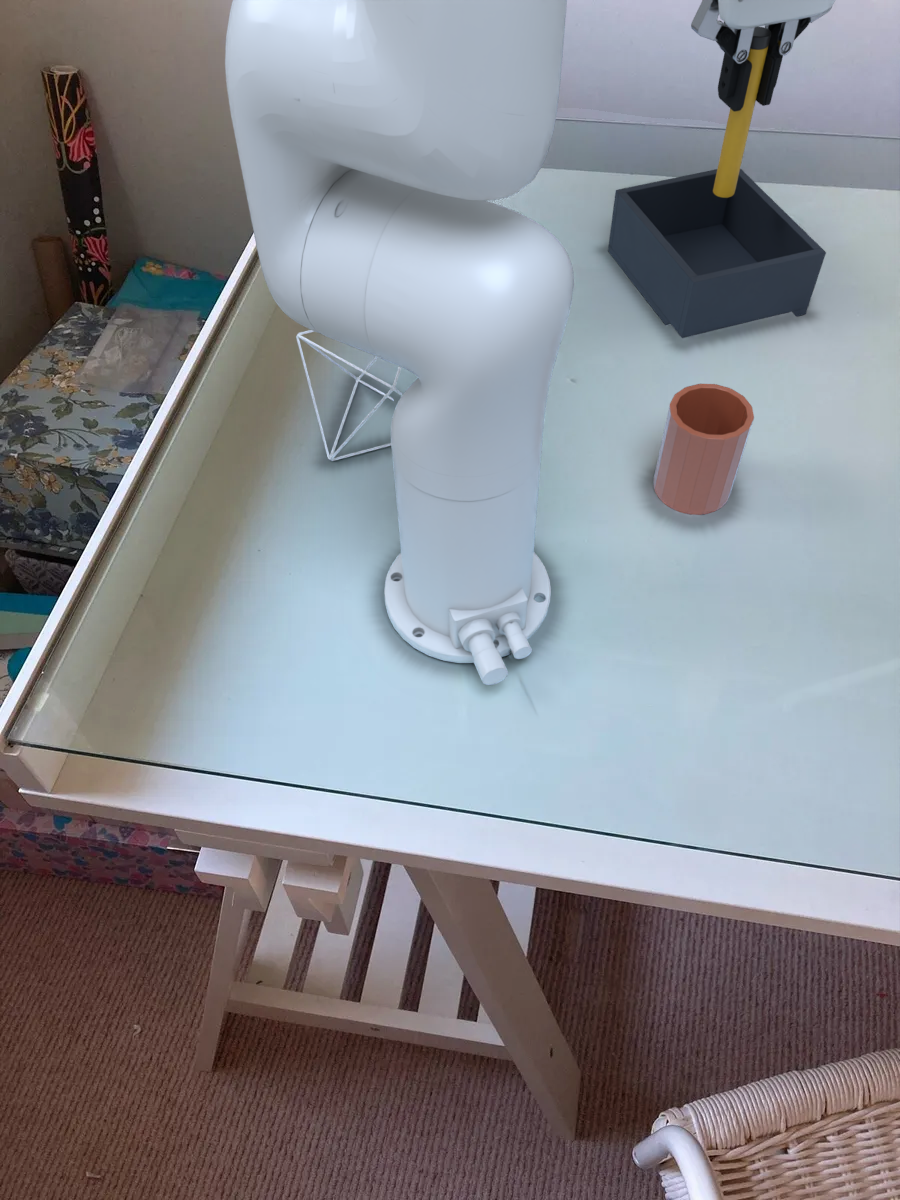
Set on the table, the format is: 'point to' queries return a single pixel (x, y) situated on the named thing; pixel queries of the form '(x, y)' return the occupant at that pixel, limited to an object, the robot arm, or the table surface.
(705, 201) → the bin
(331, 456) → the geometric polyhedron
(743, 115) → the pencil
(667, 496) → the pencil cup
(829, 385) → the table surface
